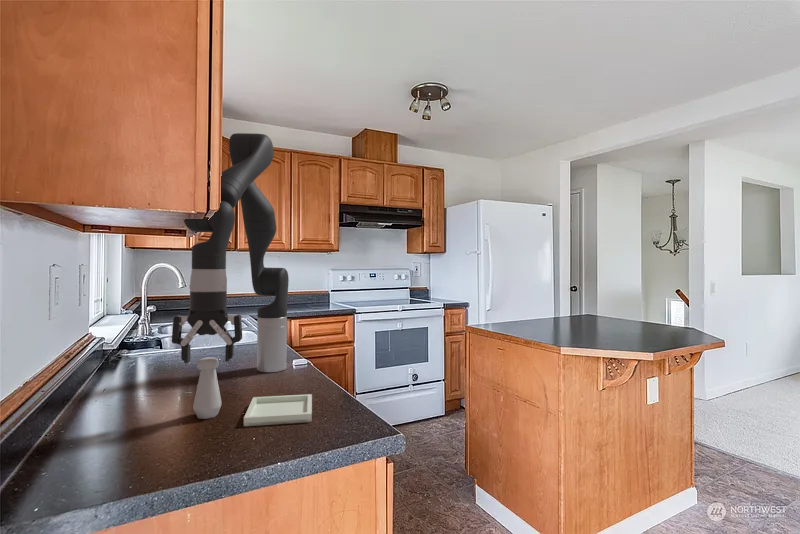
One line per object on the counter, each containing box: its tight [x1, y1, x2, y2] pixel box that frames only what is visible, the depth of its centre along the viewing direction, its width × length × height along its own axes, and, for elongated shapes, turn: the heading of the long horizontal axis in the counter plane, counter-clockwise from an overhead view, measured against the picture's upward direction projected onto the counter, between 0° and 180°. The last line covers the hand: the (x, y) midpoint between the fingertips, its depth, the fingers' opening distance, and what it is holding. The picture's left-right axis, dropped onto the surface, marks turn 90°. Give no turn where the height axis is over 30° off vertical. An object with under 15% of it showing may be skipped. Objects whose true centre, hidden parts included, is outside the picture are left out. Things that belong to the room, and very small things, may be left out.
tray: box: [243, 393, 313, 427], centre depth 95 cm, size 14×14×2 cm
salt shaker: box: [192, 356, 223, 420], centre depth 93 cm, size 6×6×13 cm
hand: (207, 361), depth 93 cm, fingers open, 8 cm apart
